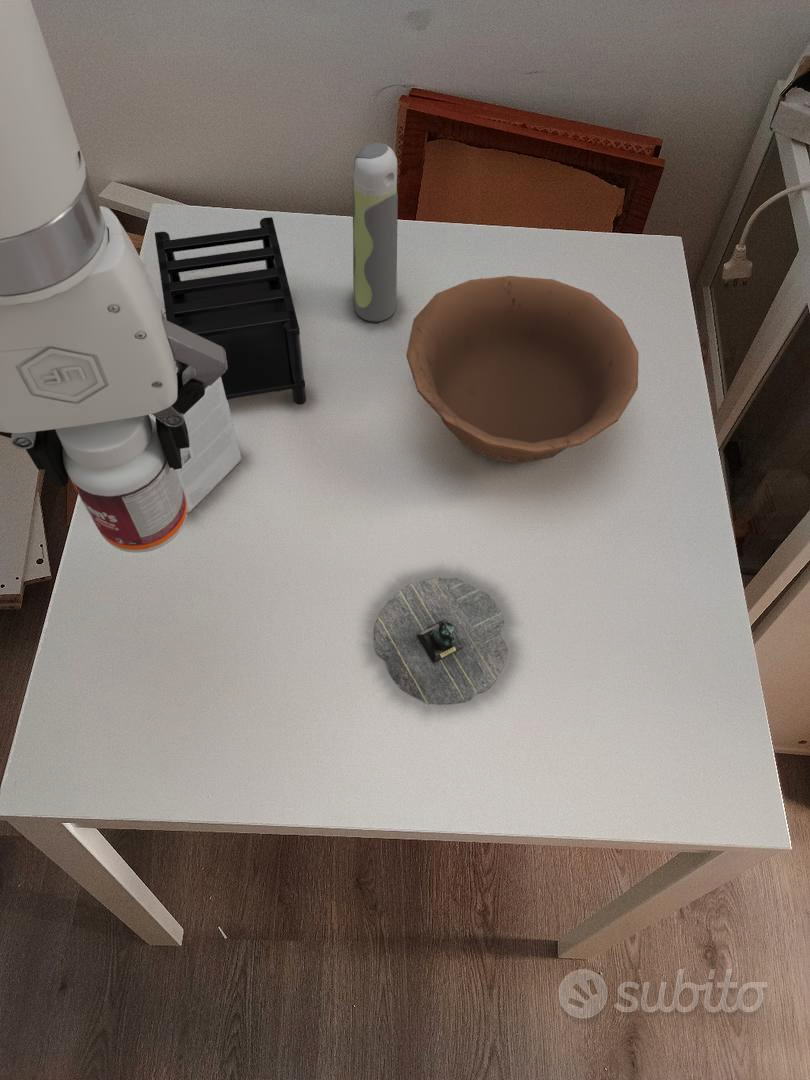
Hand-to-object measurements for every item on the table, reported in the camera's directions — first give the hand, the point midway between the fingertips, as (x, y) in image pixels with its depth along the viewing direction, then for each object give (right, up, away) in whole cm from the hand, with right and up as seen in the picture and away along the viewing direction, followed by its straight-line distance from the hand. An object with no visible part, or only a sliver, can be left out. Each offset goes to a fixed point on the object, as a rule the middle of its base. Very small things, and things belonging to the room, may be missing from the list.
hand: (118, 457), depth 51 cm
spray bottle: (+14, +21, +43) cm, 50 cm away
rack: (0, +15, +39) cm, 42 cm away
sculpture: (+21, -14, +24) cm, 35 cm away
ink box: (-2, +1, +31) cm, 31 cm away
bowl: (+28, +7, +36) cm, 46 cm away
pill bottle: (0, -4, +6) cm, 7 cm away
